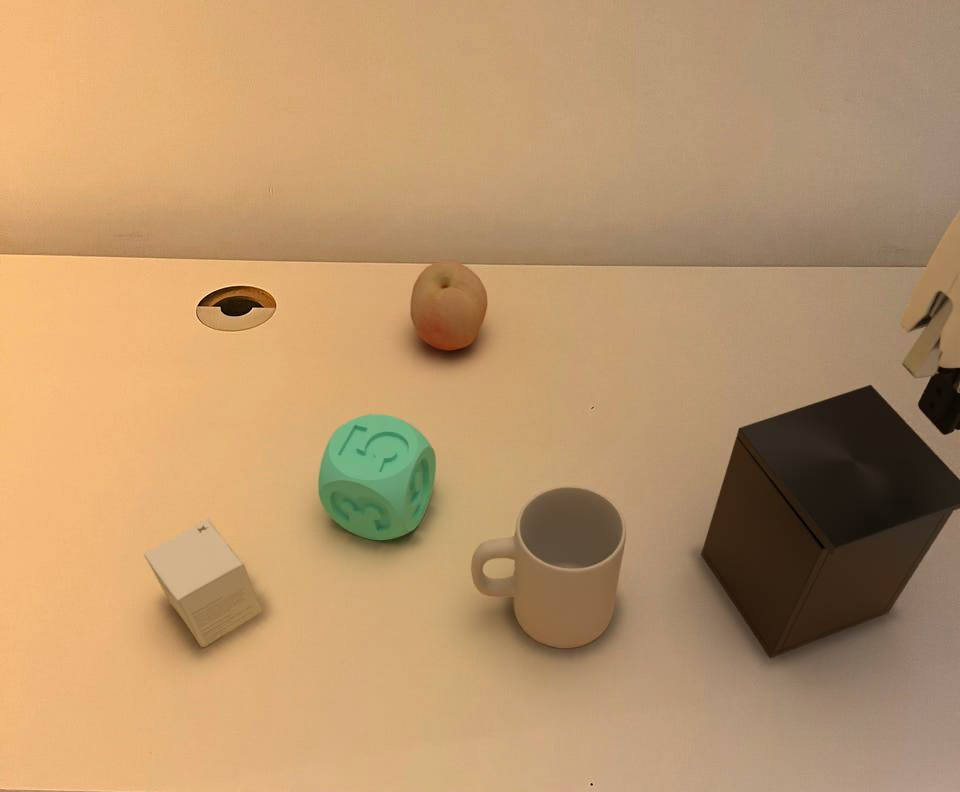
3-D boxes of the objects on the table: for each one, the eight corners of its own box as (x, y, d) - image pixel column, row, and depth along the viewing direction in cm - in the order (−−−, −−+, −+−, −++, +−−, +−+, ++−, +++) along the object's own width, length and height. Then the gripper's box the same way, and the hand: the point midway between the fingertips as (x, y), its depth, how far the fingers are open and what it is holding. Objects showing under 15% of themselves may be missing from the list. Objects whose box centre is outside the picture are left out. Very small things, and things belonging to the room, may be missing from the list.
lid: (972, 504, 66) (976, 496, 65) (830, 556, 64) (834, 548, 63) (867, 392, 72) (870, 384, 72) (736, 435, 70) (738, 427, 70)
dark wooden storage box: (888, 613, 79) (961, 498, 67) (769, 658, 77) (822, 549, 65) (813, 514, 85) (867, 392, 72) (700, 554, 83) (736, 435, 70)
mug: (606, 564, 82) (620, 481, 73) (619, 647, 78) (634, 569, 69) (471, 571, 82) (466, 489, 73) (475, 654, 78) (471, 577, 69)
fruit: (397, 347, 98) (389, 282, 91) (439, 303, 101) (434, 237, 95) (461, 374, 95) (459, 309, 89) (502, 328, 99) (502, 263, 92)
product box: (168, 602, 81) (140, 551, 75) (229, 567, 83) (207, 515, 77) (202, 650, 79) (176, 601, 72) (264, 613, 81) (245, 562, 74)
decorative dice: (360, 465, 89) (349, 403, 82) (439, 486, 88) (433, 424, 81) (325, 528, 85) (310, 468, 78) (407, 551, 84) (398, 492, 77)
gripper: (1142, 91, 51) (995, 351, 67) (912, 160, 49) (815, 414, 65) (1248, 165, 48) (1067, 422, 63) (1006, 244, 45) (879, 491, 61)
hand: (940, 417), depth 64 cm, fingers closed
